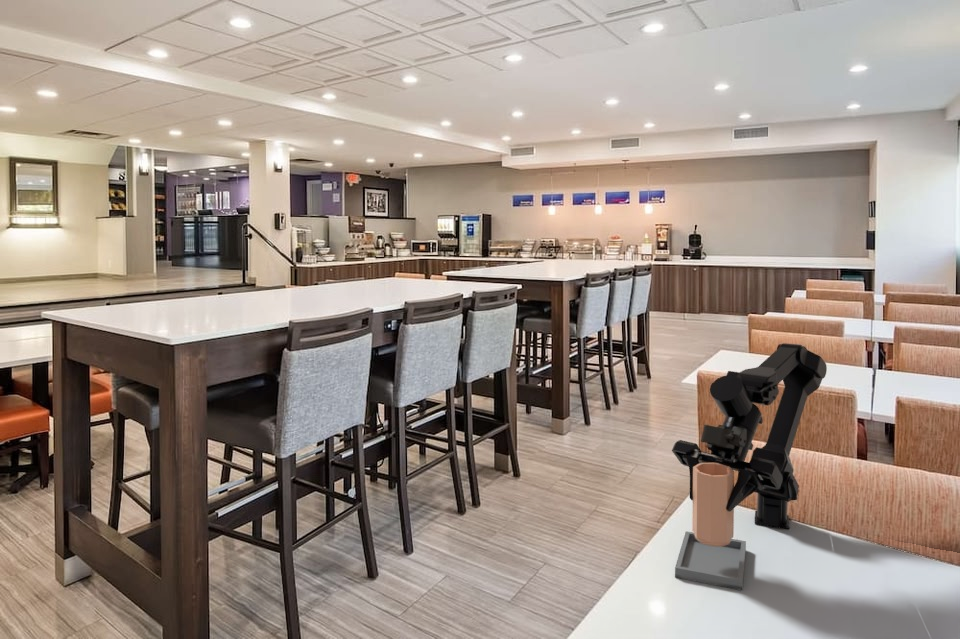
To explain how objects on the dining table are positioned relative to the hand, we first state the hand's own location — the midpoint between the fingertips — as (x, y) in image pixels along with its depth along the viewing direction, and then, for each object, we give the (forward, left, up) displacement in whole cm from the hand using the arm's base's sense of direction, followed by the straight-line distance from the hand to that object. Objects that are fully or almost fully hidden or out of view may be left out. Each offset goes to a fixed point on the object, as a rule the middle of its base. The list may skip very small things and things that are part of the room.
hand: (709, 504), depth 108 cm
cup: (-1, +1, -7) cm, 7 cm away
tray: (-3, 0, -12) cm, 13 cm away
